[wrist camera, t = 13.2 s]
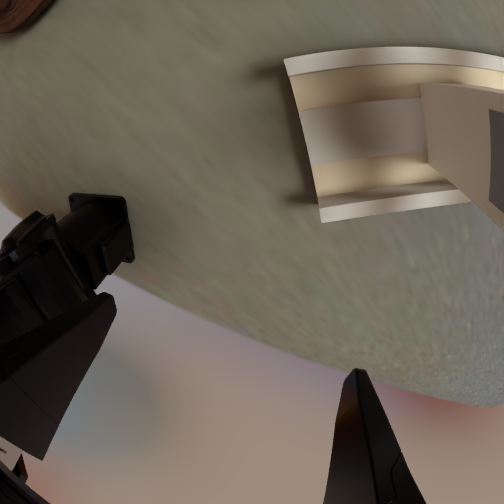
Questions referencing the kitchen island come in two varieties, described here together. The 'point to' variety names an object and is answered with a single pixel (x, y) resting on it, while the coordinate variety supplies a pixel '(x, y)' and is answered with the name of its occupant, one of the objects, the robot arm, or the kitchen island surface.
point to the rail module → (467, 141)
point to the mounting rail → (378, 124)
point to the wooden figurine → (19, 13)
